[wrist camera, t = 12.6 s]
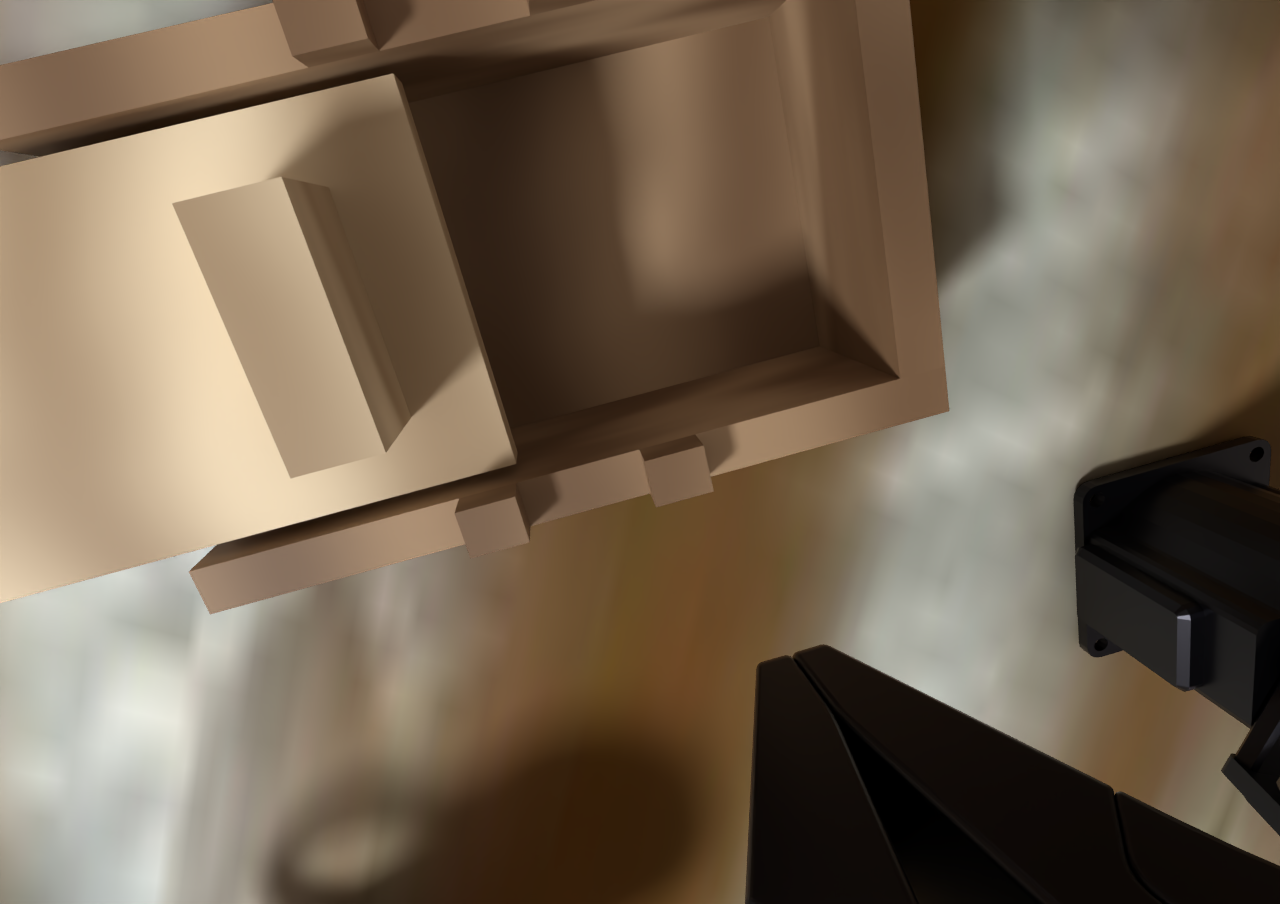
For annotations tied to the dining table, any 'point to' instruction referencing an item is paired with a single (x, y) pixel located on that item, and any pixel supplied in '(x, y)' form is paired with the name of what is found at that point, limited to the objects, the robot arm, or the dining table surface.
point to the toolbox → (592, 232)
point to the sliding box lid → (229, 335)
